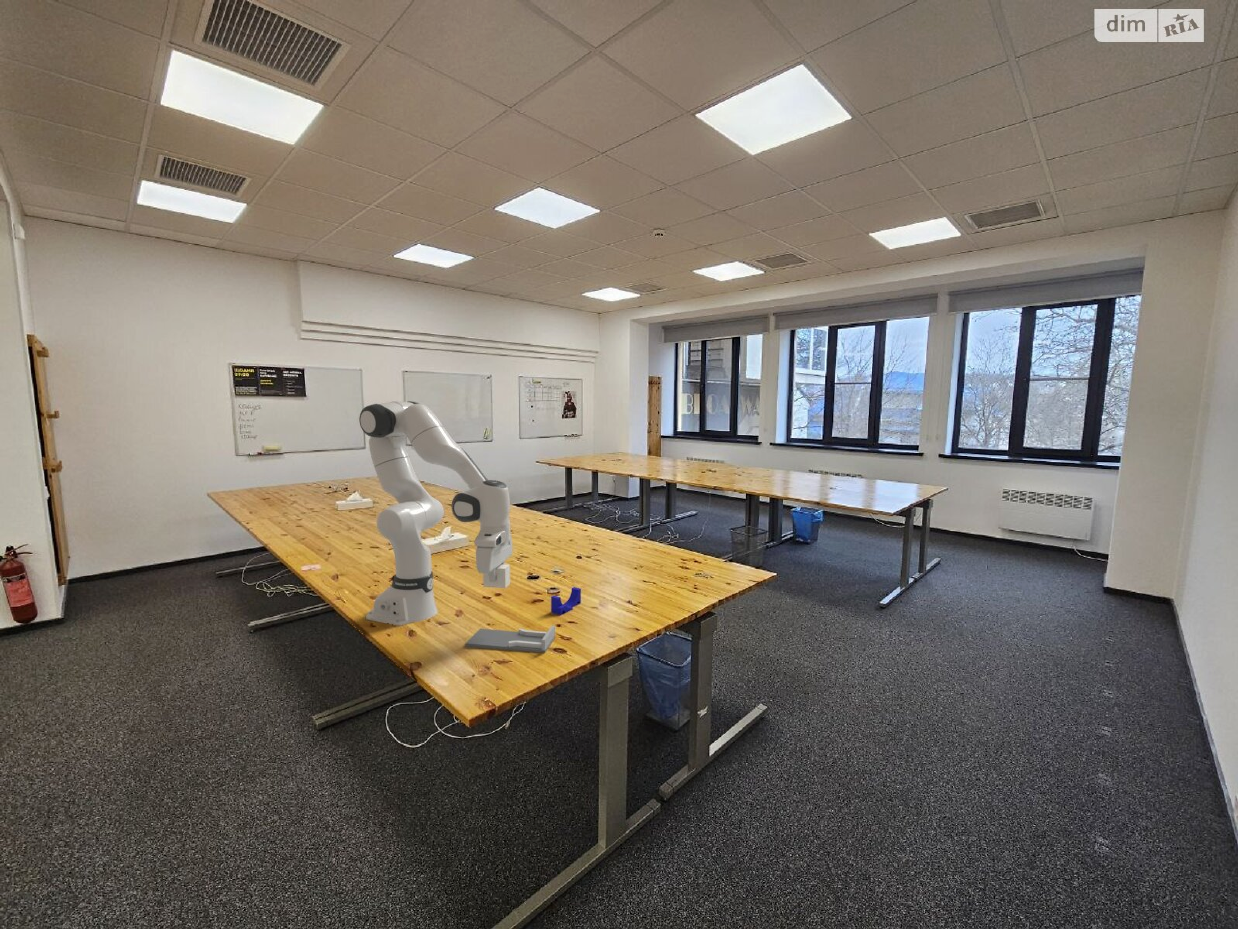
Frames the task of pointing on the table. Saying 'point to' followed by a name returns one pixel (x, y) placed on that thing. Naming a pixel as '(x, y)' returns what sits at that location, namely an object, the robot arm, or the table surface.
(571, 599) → the cable clip
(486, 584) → the panel block
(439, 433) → the robot arm
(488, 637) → the mounting plate
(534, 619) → the table surface
